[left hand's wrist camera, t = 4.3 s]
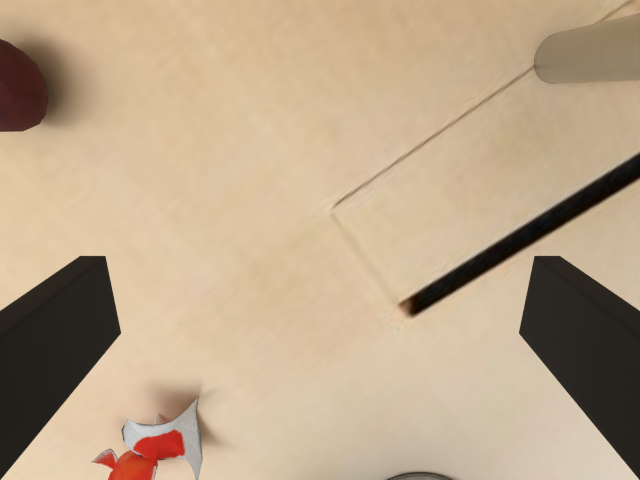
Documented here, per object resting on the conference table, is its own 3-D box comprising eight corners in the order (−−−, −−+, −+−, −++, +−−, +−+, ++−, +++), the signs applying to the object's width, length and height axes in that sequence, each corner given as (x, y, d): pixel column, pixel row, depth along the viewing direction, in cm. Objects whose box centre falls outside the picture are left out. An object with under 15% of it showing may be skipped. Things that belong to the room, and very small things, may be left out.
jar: (559, 22, 35) (753, -34, 19) (590, 53, 35) (800, 23, 20) (524, 64, 36) (680, 43, 20) (555, 93, 37) (728, 94, 21)
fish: (52, 445, 45) (53, 527, 38) (169, 353, 49) (191, 410, 41) (116, 478, 52) (128, 553, 44) (215, 394, 55) (243, 450, 48)
